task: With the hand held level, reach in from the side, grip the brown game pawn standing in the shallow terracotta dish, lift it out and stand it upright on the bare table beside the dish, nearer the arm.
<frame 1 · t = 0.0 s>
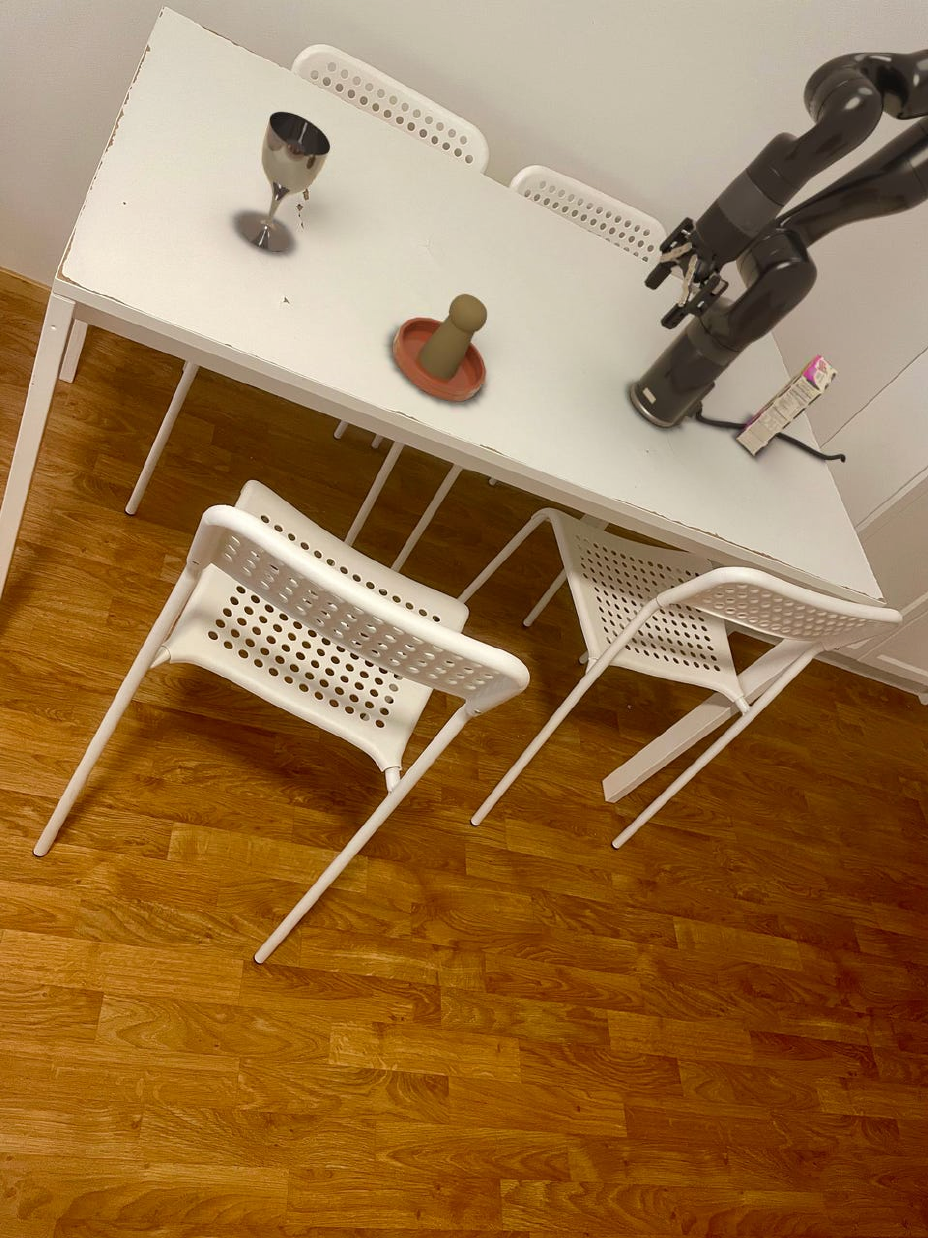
hand: (656, 305, 125), 17 cm above the table, tool pointing down, fingers open, 8 cm apart
candy bar box: (751, 437, 155), on the table
dish: (436, 364, 121), on the table
brown game pawn: (436, 363, 121), resting on dish
silver goblet: (264, 234, 118), on the table
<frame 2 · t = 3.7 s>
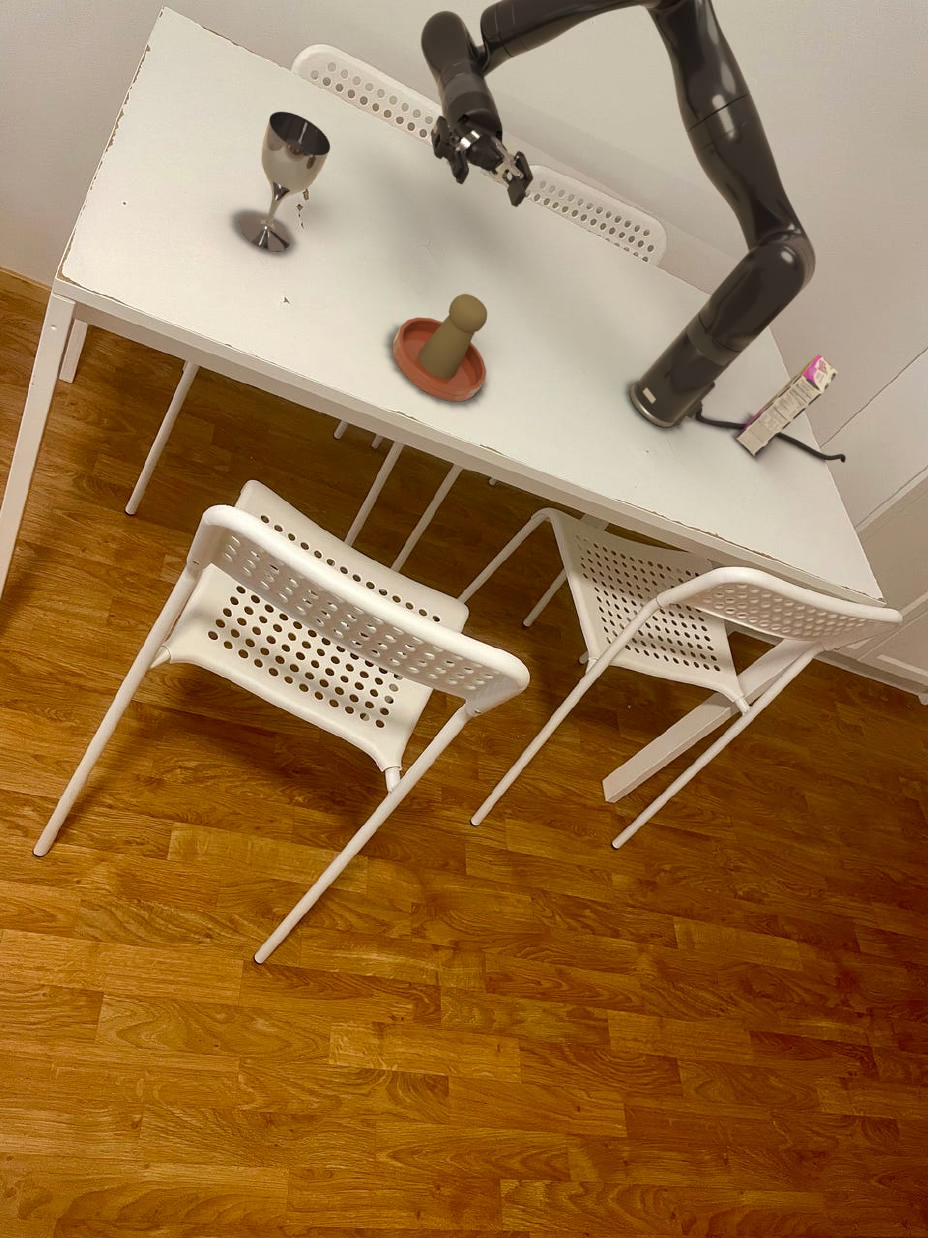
hand: (491, 189, 112), 20 cm above the table, tool horizontal, fingers open, 8 cm apart
nothing on the table moved.
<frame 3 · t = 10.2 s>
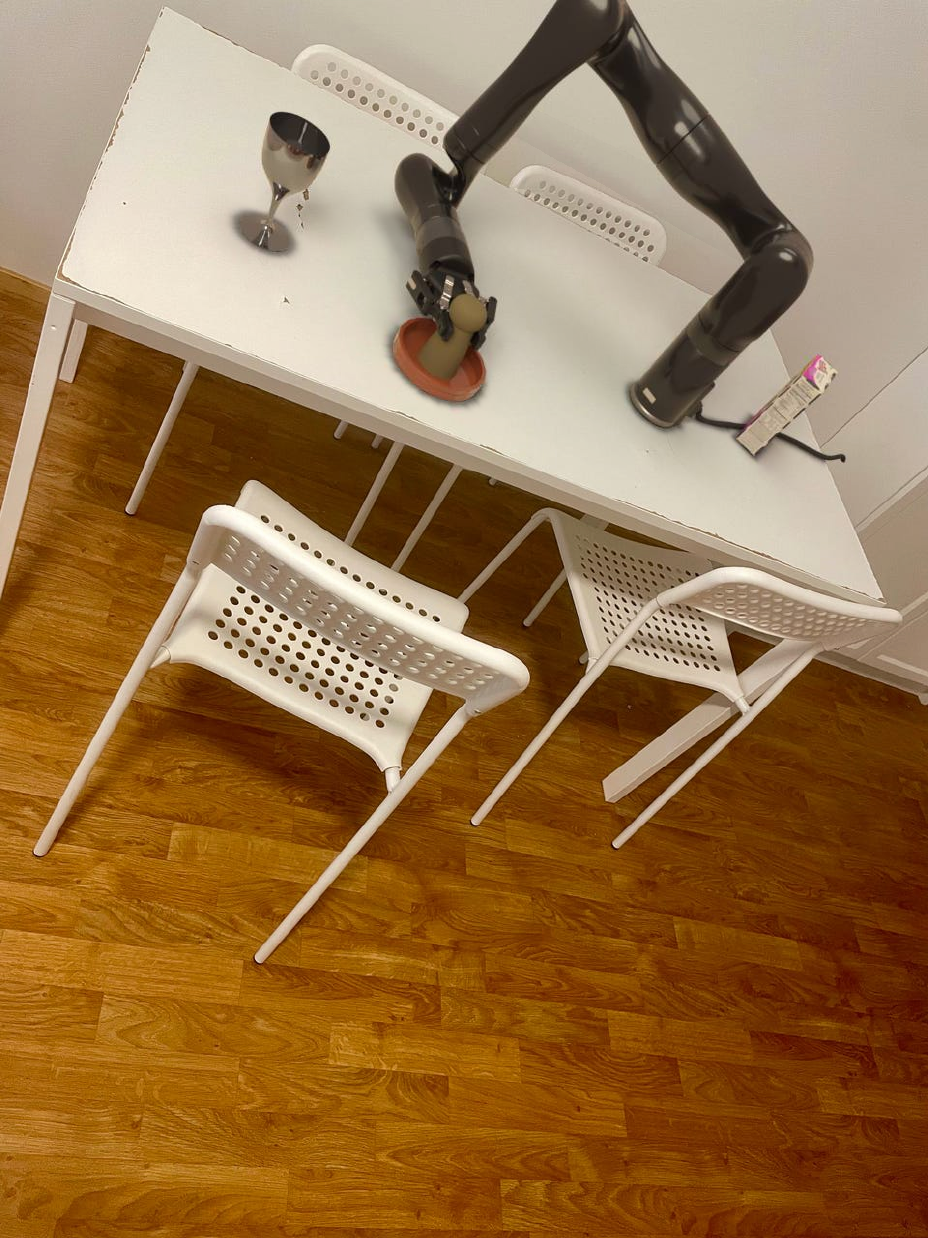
hand: (463, 340, 114), 7 cm above the table, tool horizontal, fingers closed on brown game pawn, 4 cm apart
brown game pawn: (436, 363, 121), resting on dish, touching gripper
everything else where it was.
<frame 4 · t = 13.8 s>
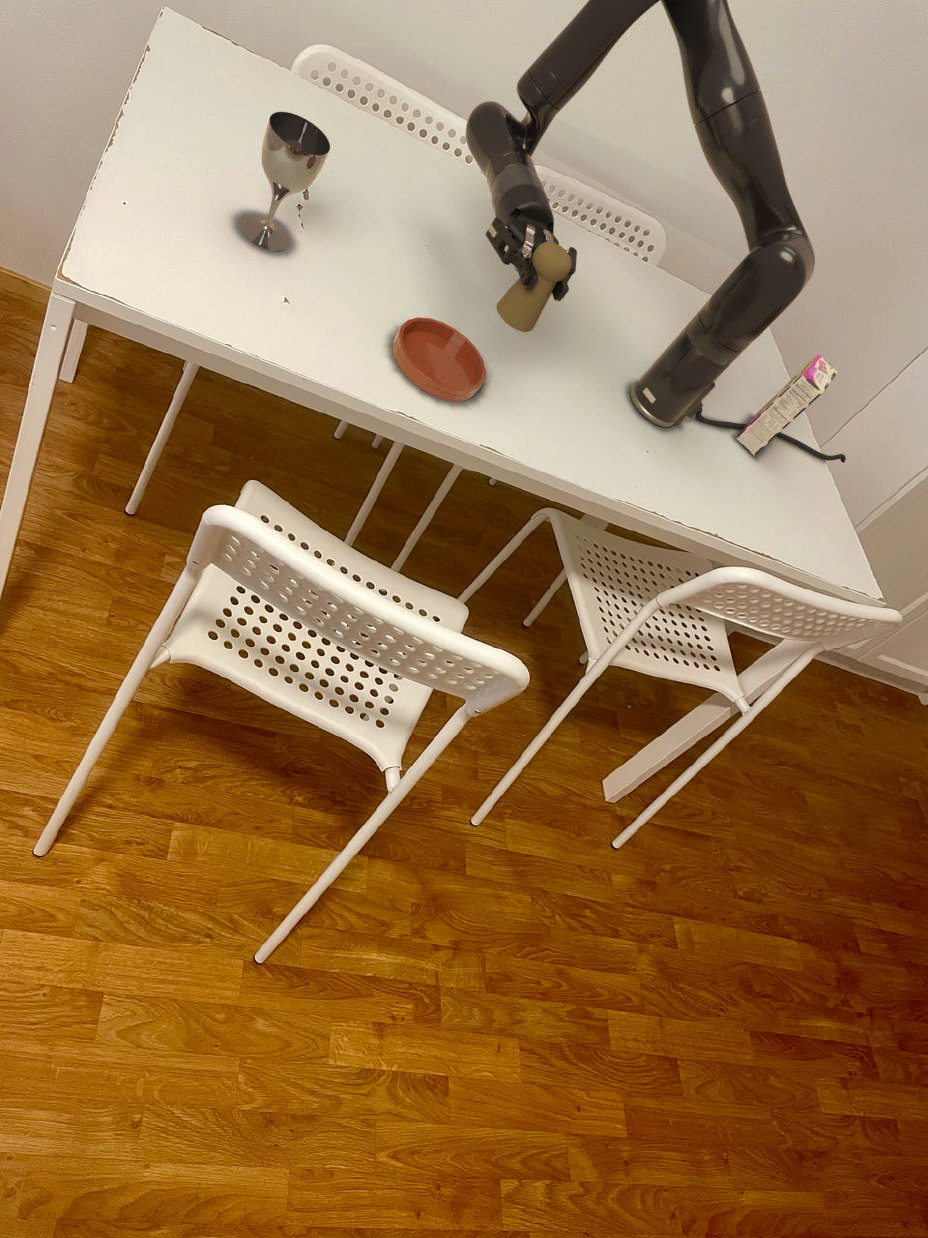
hand: (546, 290, 111), 18 cm above the table, tool horizontal, fingers closed on brown game pawn, 4 cm apart
brown game pawn: (514, 316, 117), point 11 cm above the table, touching gripper
everything else where it was.
when the fingers open (7 cm above the table, at t = 17.8 s): brown game pawn stays where it is, on the table.
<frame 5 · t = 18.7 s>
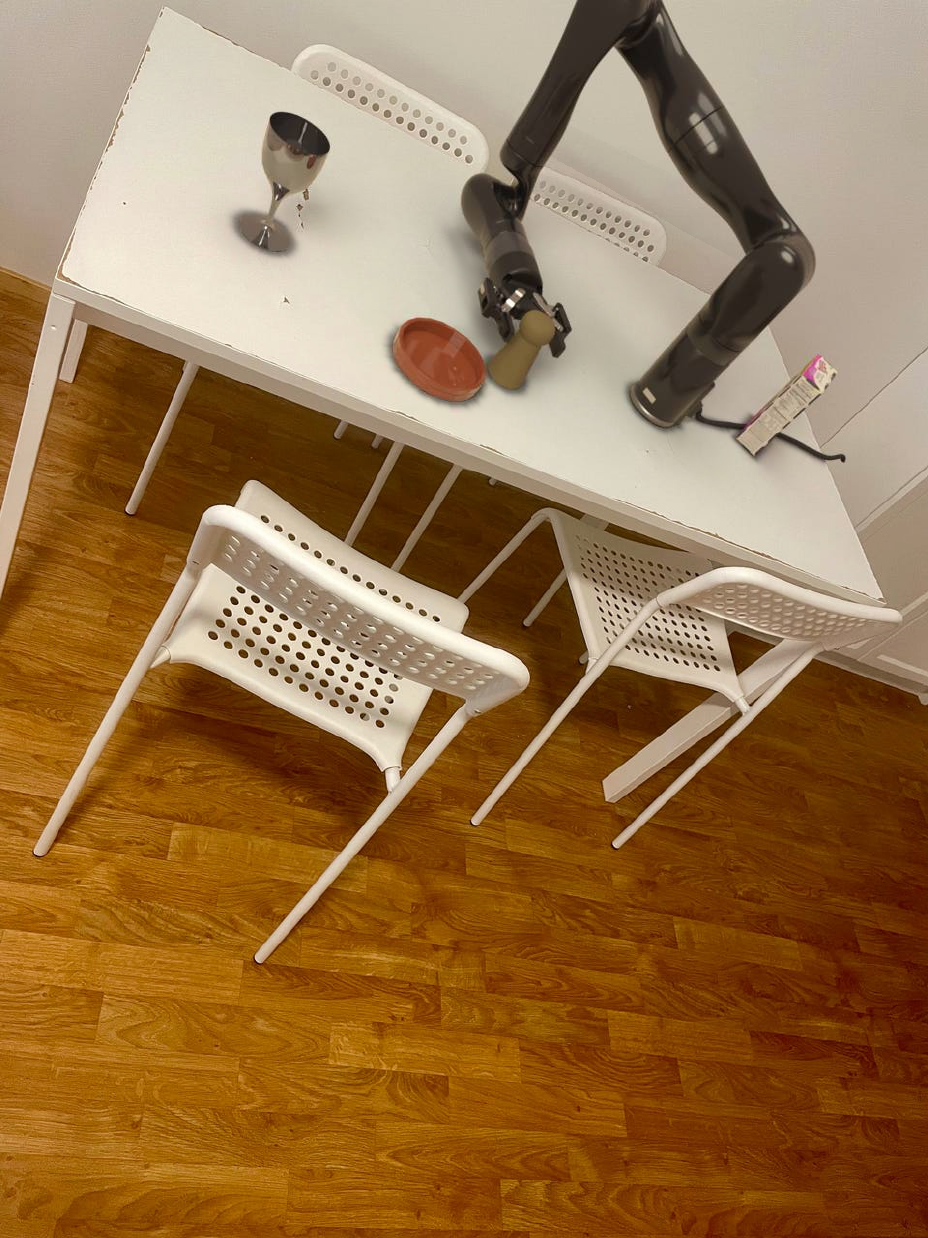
hand: (534, 345, 121), 8 cm above the table, tool horizontal, fingers open, 8 cm apart
brown game pawn: (503, 375, 128), on the table
everything else where it was.
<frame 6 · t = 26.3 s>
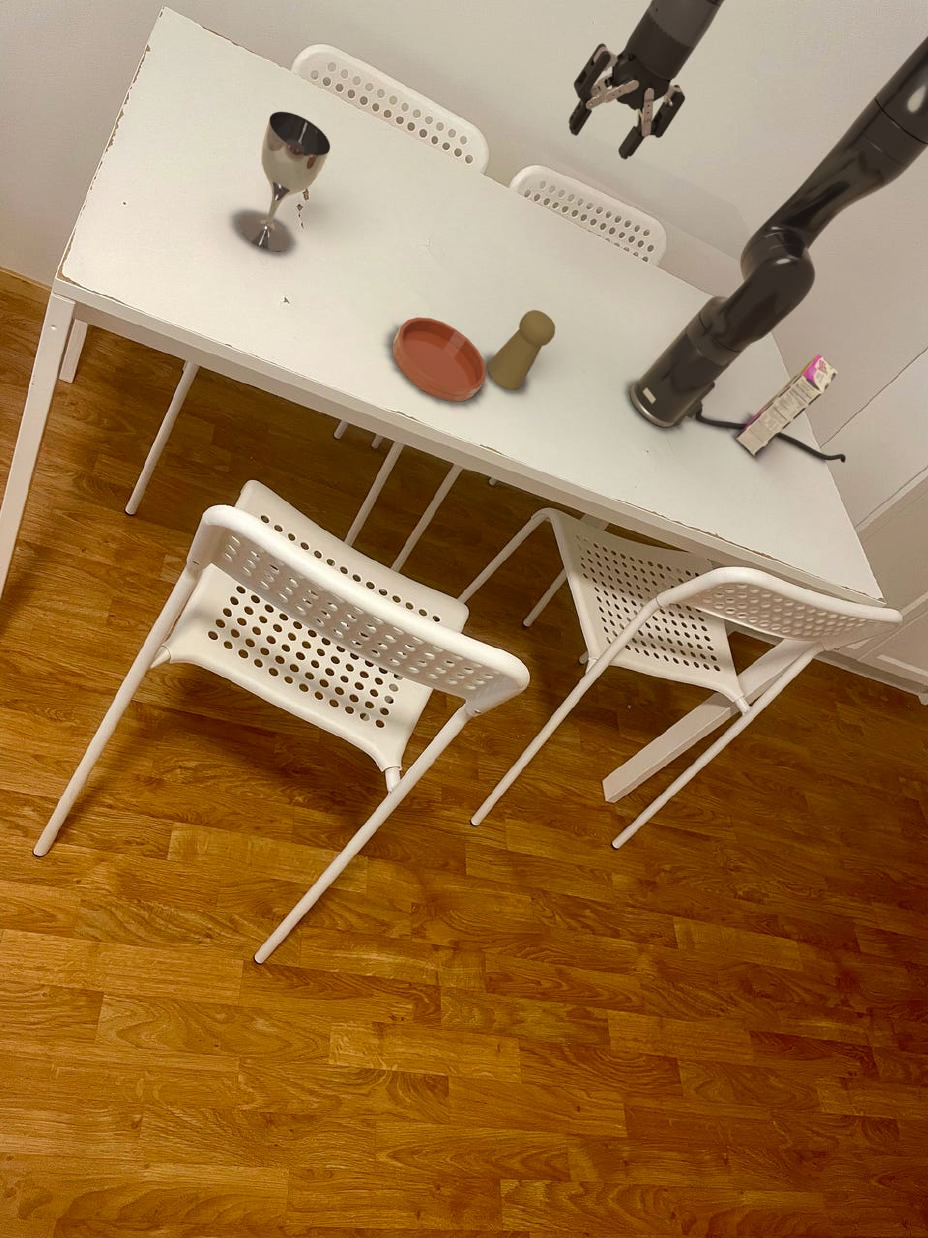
hand: (597, 143, 116), 28 cm above the table, tool pointing down, fingers open, 8 cm apart
nothing on the table moved.
at the end: brown game pawn inside the target area (0.4 cm from its centre), on the table; brown game pawn tilted 0°; brown game pawn touching table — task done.
